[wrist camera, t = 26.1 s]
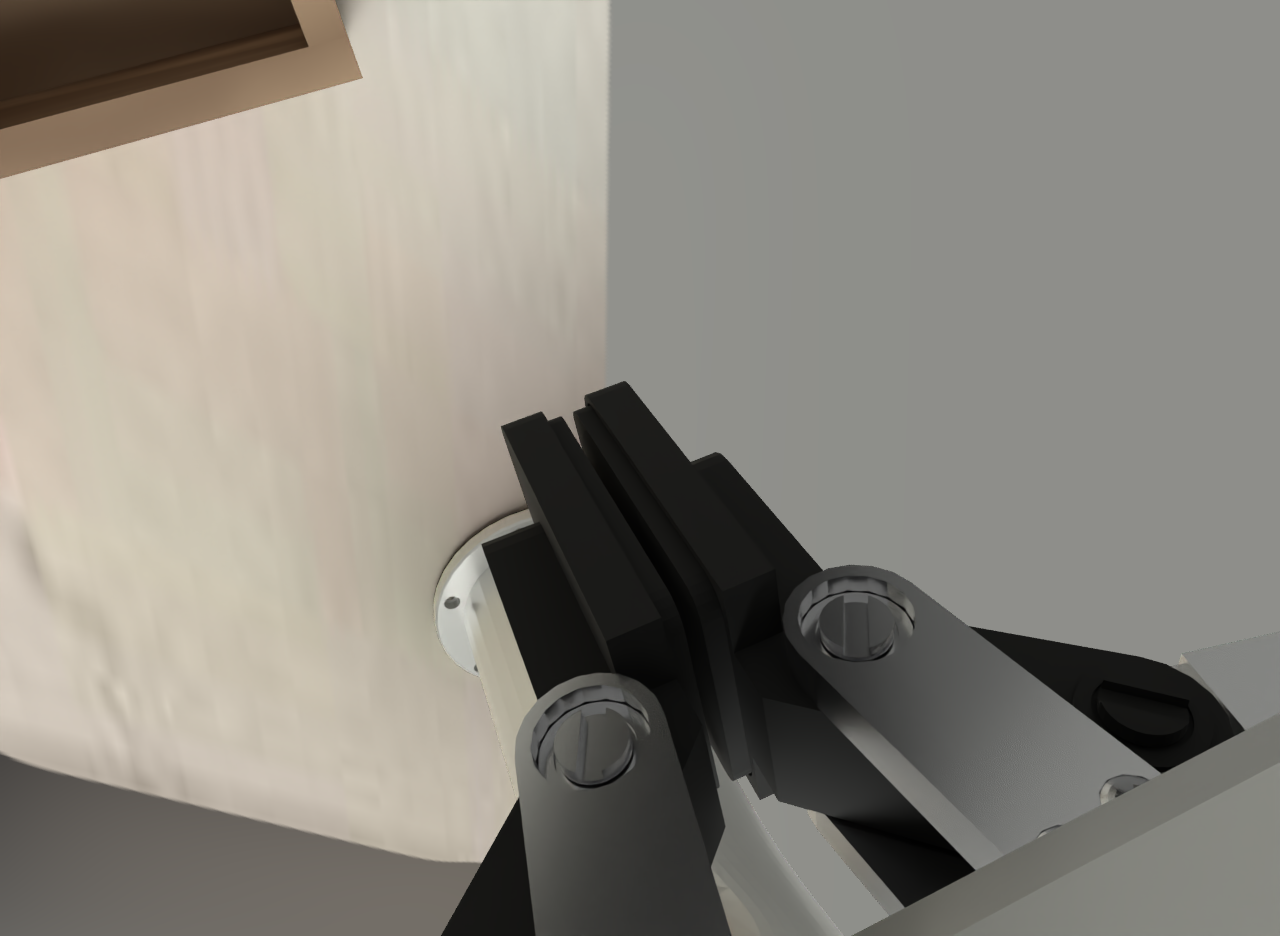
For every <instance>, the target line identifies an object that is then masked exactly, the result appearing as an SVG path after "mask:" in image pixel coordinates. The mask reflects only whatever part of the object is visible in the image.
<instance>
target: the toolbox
mask: <svg viewBox="0 0 1280 936" xmlns="http://www.w3.org/2000/svg"><path fill="white" fill-rule="evenodd" d="M361 78H363V77H362V75H361V72H360V69H359V66H358V63H357V61H356V58H355V55H354V52H353V49H352V47H351V44H350V41H349V38H348V35H347V33H346V30H345V27H344V24H343V21H342V19H341V16H340V13H339V10H338V7H337V5H336V2H335V0H0V179H1V178H5V177H8V176H12V175H15V174H19V173H23V172H26V171H30V170H33V169H37V168H41V167H44V166H48V165H51V164H55V163H59V162H62V161H66V160H69V159H73V158H77V157H80V156H84V155H87V154H91V153H95V152H98V151H102V150H105V149H109V148H113V147H116V146H120V145H123V144H127V143H131V142H134V141H138V140H141V139H145V138H149V137H152V136H156V135H159V134H163V133H167V132H170V131H174V130H177V129H181V128H185V127H188V126H192V125H195V124H199V123H203V122H206V121H210V120H213V119H217V118H221V117H224V116H228V115H231V114H235V113H239V112H242V111H246V110H249V109H253V108H257V107H260V106H264V105H267V104H271V103H275V102H278V101H282V100H285V99H289V98H293V97H296V96H300V95H303V94H307V93H311V92H314V91H318V90H321V89H325V88H329V87H332V86H336V85H339V84H343V83H347V82H350V81H354V80H357V79H361Z"/></svg>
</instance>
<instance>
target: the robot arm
mask: <svg viewBox="0 0 1280 936" xmlns="http://www.w3.org/2000/svg"><path fill="white" fill-rule="evenodd" d="M584 399H585V406H586V407H585V408H582V409H579V410H577V411H574V412H573V416H574V421H575V425H576V428H577V432H578V435H579V439H580V442H581V446H582V448H581V447H580V445H579V443H578V442H577V440H576V438H575V437H574V435H573V434H572V432H571V430H570V429H569V427H568V425H567V424H566V422H565V420H564V419H563V418H562V417H561V416H560V417H558V418H555V419H552V420H550V421H547V419H546V417H545V415H544V414H543V412H538V413H536V414H533V415H530V416H527V417H525V418H522V419H519V420H517V421H514V422H511V423H508V424H506V425H503V426H501V429H502V433H503V436H504V439H505V442H506V445H507V448H508V451H509V453H510V456H511V459H512V462H513V465H514V468H515V471H516V474H517V476H518V479H519V482H520V485H521V488H522V491H523V494H524V497H525V500H526V502H527V505H528V508H529V509H527V510H524V511H521V512H518V513H515V514H512V515H509V516H507V517H505V518H503V519H501V520H499V521H497V522H495V523H493V524H491V525H489V526H488V527H486V528H485V529H483V530H482V531H481V532H479V533H478V534H477V535H475V536H474V537H473V538H471V539H470V540H469V541H468V542H467V543H466V544H465V545H464V546H463V547H462V548H461V549H460V550H459V551H458V552H457V553H456V554H455V555H454V557H453V558H452V560H451V561H450V563H449V564H448V565H447V567H446V568H445V570H444V571H443V574H442V576H441V578H440V581H439V583H438V585H437V588H436V592H435V597H434V603H433V613H434V623H435V627H436V630H437V635H438V638H439V641H440V643H441V645H442V647H443V649H444V651H445V652H446V654H447V655H448V656H449V657H450V658H451V659H452V660H453V662H454V663H455V664H457V665H458V666H459V667H461V668H462V669H464V670H465V671H467V672H468V673H470V674H473V675H475V676H477V677H480V679H481V682H482V686H483V689H484V693H485V696H486V699H487V703H488V706H489V709H490V713H491V716H492V719H493V723H494V726H495V729H496V733H497V736H498V739H499V743H500V746H501V750H502V753H503V756H504V760H505V763H506V766H507V770H508V773H509V776H510V780H511V783H512V786H513V790H514V793H515V796H516V800H517V801H516V803H515V805H514V807H513V808H512V810H511V812H510V814H509V816H508V817H507V819H506V821H505V823H504V824H503V826H502V828H501V830H500V832H499V833H498V835H497V837H496V839H495V841H494V842H493V844H492V846H491V848H490V849H489V851H488V853H487V855H486V857H485V858H484V860H483V862H482V864H481V865H480V867H479V869H478V871H477V873H476V874H475V876H474V878H473V880H472V882H471V883H470V885H469V887H468V889H467V890H466V892H465V894H464V896H463V898H462V899H461V901H460V903H459V905H458V906H457V908H456V910H455V912H454V914H453V915H452V917H451V919H450V921H449V922H448V925H447V926H446V928H445V930H444V931H443V933H442V935H441V936H844V935H843V934H842V933H841V931H840V930H839V929H838V928H837V926H836V925H835V924H834V923H833V921H832V920H831V919H830V918H829V916H828V915H827V914H826V913H825V911H824V910H823V909H822V908H821V906H820V905H819V904H818V902H817V901H816V900H815V898H814V897H813V896H812V895H811V893H810V892H809V891H808V889H807V888H806V887H805V885H804V884H803V883H802V882H801V880H800V879H799V877H798V876H797V874H796V873H795V872H794V870H793V869H792V867H791V866H790V865H789V863H788V862H787V860H786V859H785V858H784V856H783V854H782V853H781V851H780V850H779V848H778V847H777V845H776V844H775V842H774V841H773V839H772V837H771V836H770V834H769V833H768V831H767V830H766V828H765V827H764V825H763V823H762V822H761V820H760V818H759V816H758V815H757V813H756V812H755V810H754V808H753V806H752V805H751V803H750V801H749V799H748V798H747V796H746V794H745V793H744V791H743V789H742V787H741V786H740V784H739V782H738V780H737V779H739V778H741V777H743V776H745V775H746V776H747V778H748V780H749V782H750V783H751V785H752V787H753V788H754V790H755V792H756V794H757V795H758V797H759V799H760V800H761V799H763V798H765V797H768V796H770V795H772V794H775V796H776V798H777V799H778V801H780V802H784V803H787V804H791V805H794V806H798V807H801V808H805V809H807V812H808V815H809V817H810V818H811V819H812V821H813V823H814V825H815V826H816V828H817V830H818V831H819V832H820V833H821V835H822V836H823V837H824V838H825V839H826V840H827V842H828V843H829V844H830V845H831V847H832V848H833V849H834V850H835V851H836V853H837V854H838V855H839V856H840V857H841V859H842V860H843V861H844V862H845V863H846V865H847V866H848V867H849V868H850V869H851V870H852V872H853V873H854V874H855V875H856V876H857V878H858V879H859V880H860V881H861V882H862V884H863V885H864V886H865V887H866V888H867V890H868V891H869V892H870V893H871V894H872V896H873V897H874V898H875V899H876V900H877V902H878V903H879V904H880V905H881V906H882V908H883V909H884V910H885V911H886V912H887V914H888V915H889V917H887V918H885V919H883V920H881V921H879V922H877V923H875V924H873V925H872V926H870V927H868V928H866V929H864V930H862V931H860V932H858V933H856V934H854V935H853V936H1280V632H1276V633H1272V634H1267V635H1263V636H1259V637H1254V638H1249V639H1245V640H1240V641H1236V642H1231V643H1228V644H1223V645H1218V646H1214V647H1209V648H1205V649H1200V650H1196V651H1192V652H1187V653H1182V654H1181V657H1180V660H1179V664H1178V665H1174V666H1168V665H1167V664H1163V663H1160V662H1156V661H1153V660H1149V659H1145V658H1142V657H1138V656H1132V655H1127V654H1121V653H1116V652H1110V651H1104V650H1099V649H1093V648H1088V647H1082V646H1077V645H1071V644H1065V643H1060V642H1054V641H1049V640H1043V639H1037V638H1032V637H1026V636H1021V635H1015V634H1009V633H1004V632H998V631H993V630H986V629H981V628H976V627H970V626H968V625H966V624H965V623H964V622H962V621H961V620H960V619H958V618H957V617H956V616H954V615H953V614H952V613H951V612H949V611H948V610H947V609H945V608H944V607H942V606H941V605H940V604H939V603H937V602H936V601H935V600H934V599H932V598H931V597H930V596H928V595H927V594H925V593H924V592H923V591H922V590H920V589H919V588H918V587H916V586H915V585H914V584H913V583H911V582H910V581H908V580H906V579H904V578H903V577H901V576H899V575H897V574H896V573H894V572H891V571H888V570H884V569H880V568H877V567H873V566H860V565H846V566H840V567H834V568H828V569H826V570H824V571H823V570H822V569H821V568H820V567H819V565H818V564H817V563H816V562H815V561H814V560H813V558H812V557H811V556H810V555H809V554H808V553H807V552H806V551H805V549H804V548H803V547H802V546H801V545H800V543H799V542H798V541H797V540H796V539H795V538H794V536H793V535H792V534H791V533H790V532H789V531H788V530H787V528H786V527H785V526H784V525H783V524H782V523H781V521H780V520H779V519H778V518H777V517H776V516H775V515H774V513H773V512H772V511H771V510H770V509H769V507H768V506H767V505H766V504H765V503H764V502H763V501H762V499H761V498H760V497H759V496H758V495H757V494H756V492H755V491H754V490H753V489H752V488H751V487H750V485H749V484H748V483H747V482H746V481H745V480H744V479H743V477H742V476H741V475H740V474H739V473H738V472H737V470H736V469H735V468H734V467H733V466H732V465H731V463H730V462H729V461H728V460H727V459H726V458H725V457H724V456H723V455H722V454H720V453H716V452H715V453H713V454H710V455H708V456H705V457H702V458H700V459H697V460H695V461H692V462H690V461H689V460H688V459H687V457H686V456H685V455H684V454H683V452H682V451H681V450H680V448H679V447H678V446H677V445H676V443H675V442H674V441H673V440H672V438H671V437H670V436H669V434H668V433H667V432H666V431H665V430H664V428H663V427H662V426H661V424H660V423H659V422H658V421H657V419H656V418H655V417H654V416H653V415H652V413H651V412H650V411H649V409H648V408H647V407H646V405H645V404H644V403H643V402H642V401H641V399H640V398H639V397H638V395H637V394H636V393H635V392H634V391H633V389H632V388H631V387H630V385H629V384H628V383H627V382H625V381H623V382H620V383H618V384H615V385H612V386H609V387H607V388H604V389H601V390H598V391H596V392H593V393H590V394H588V395H585V398H584ZM582 449H583V450H582Z"/></svg>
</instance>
